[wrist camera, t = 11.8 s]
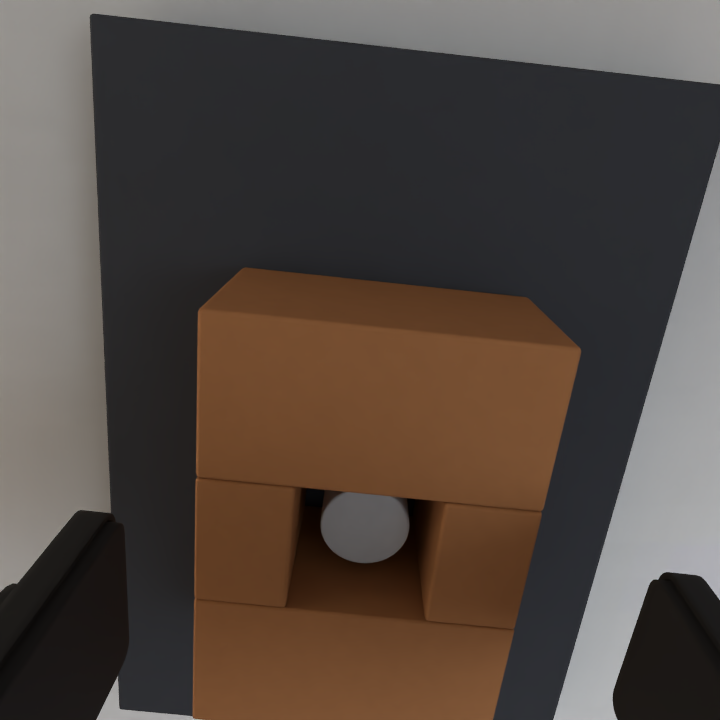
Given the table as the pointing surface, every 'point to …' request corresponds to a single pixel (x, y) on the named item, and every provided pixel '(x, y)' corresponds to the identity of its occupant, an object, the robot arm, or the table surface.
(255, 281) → the brown block with hole
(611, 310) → the charcoal back pad
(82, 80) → the table surface
